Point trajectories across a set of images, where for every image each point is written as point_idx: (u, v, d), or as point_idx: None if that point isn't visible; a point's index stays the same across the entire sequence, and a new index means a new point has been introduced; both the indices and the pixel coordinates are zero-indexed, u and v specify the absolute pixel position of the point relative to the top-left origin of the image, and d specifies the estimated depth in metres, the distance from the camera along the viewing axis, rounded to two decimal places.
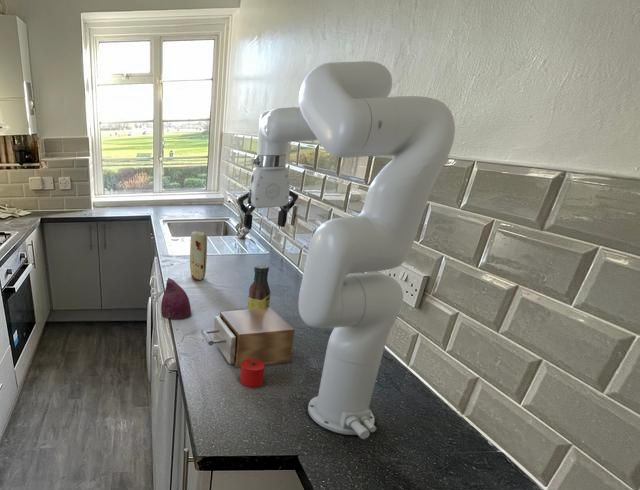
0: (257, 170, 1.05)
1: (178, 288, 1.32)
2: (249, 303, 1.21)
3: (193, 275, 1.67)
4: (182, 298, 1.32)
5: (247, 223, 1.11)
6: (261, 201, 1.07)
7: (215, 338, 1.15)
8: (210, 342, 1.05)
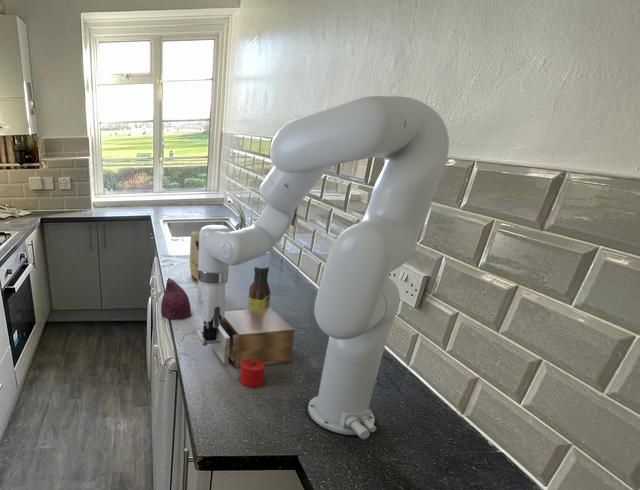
0: None
1: (178, 288, 1.32)
2: (249, 303, 1.21)
3: (193, 275, 1.67)
4: (182, 298, 1.32)
5: None
6: (197, 306, 1.07)
7: None
8: (204, 343, 1.05)
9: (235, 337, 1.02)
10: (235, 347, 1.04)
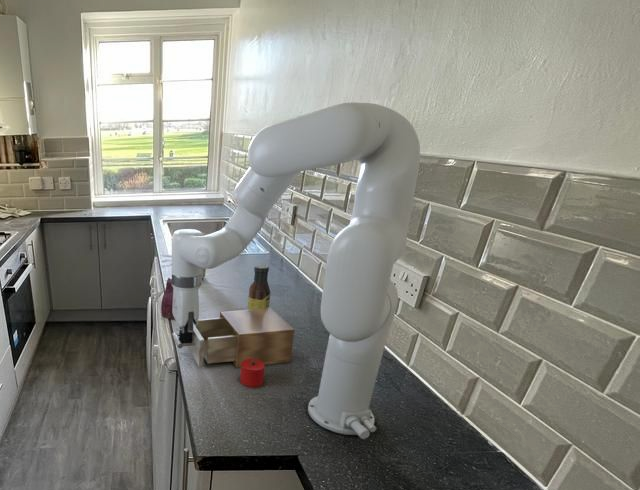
0: None
1: None
2: (249, 303, 1.21)
3: None
4: None
5: None
6: (173, 310, 1.07)
7: None
8: (179, 345, 1.04)
9: (210, 339, 1.02)
10: (210, 349, 1.03)
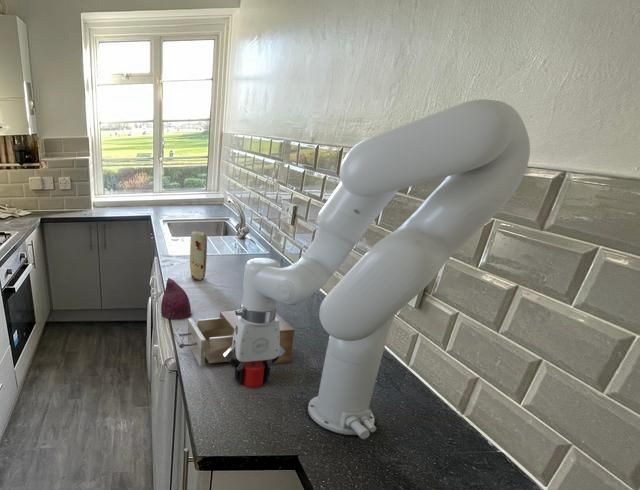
0: (242, 324, 0.90)
1: (178, 288, 1.32)
2: None
3: (193, 275, 1.67)
4: (182, 298, 1.32)
5: (238, 377, 0.97)
6: (247, 356, 0.92)
7: (188, 341, 1.14)
8: (181, 345, 1.04)
9: (211, 339, 1.02)
10: (211, 349, 1.03)
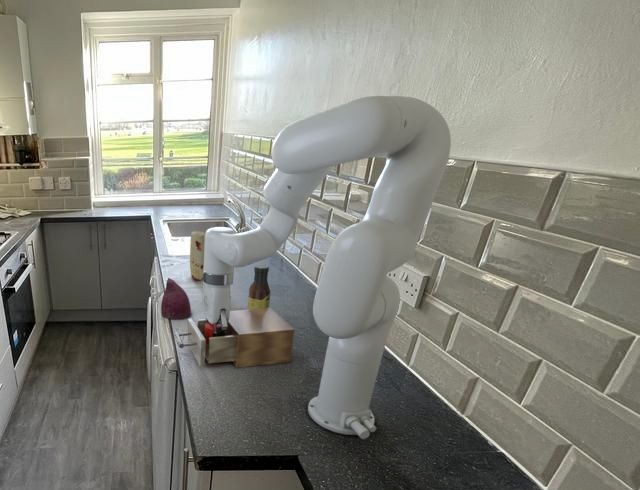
0: None
1: (178, 288, 1.32)
2: (249, 303, 1.21)
3: (193, 275, 1.67)
4: (182, 298, 1.32)
5: None
6: (202, 308, 1.08)
7: (188, 341, 1.14)
8: (181, 345, 1.04)
9: (211, 339, 1.02)
10: (211, 349, 1.03)
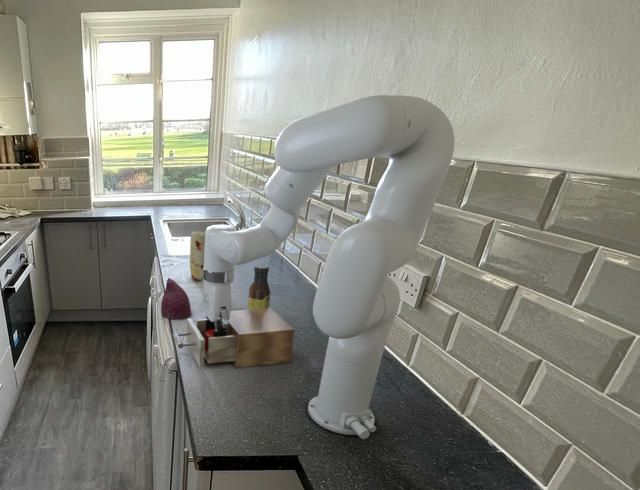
0: None
1: (178, 288, 1.32)
2: (249, 303, 1.21)
3: (193, 275, 1.67)
4: (182, 298, 1.32)
5: None
6: (203, 306, 1.07)
7: (188, 341, 1.14)
8: (180, 345, 1.04)
9: (210, 339, 1.02)
10: (210, 349, 1.03)
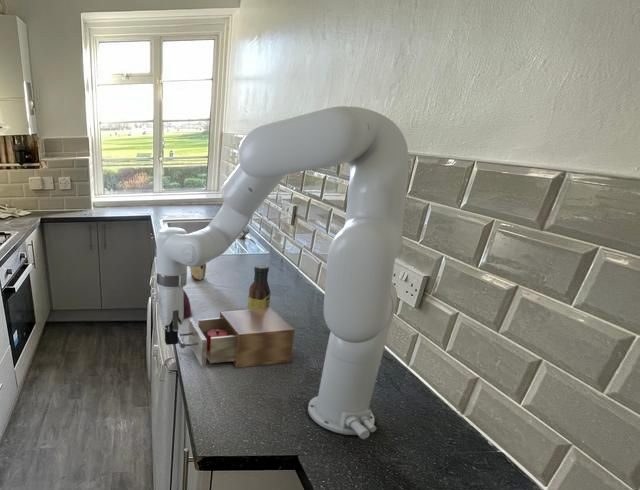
0: None
1: None
2: (249, 303, 1.21)
3: (193, 275, 1.67)
4: None
5: None
6: (158, 309, 1.06)
7: (189, 340, 1.14)
8: (182, 345, 1.04)
9: (212, 339, 1.02)
10: (212, 349, 1.03)
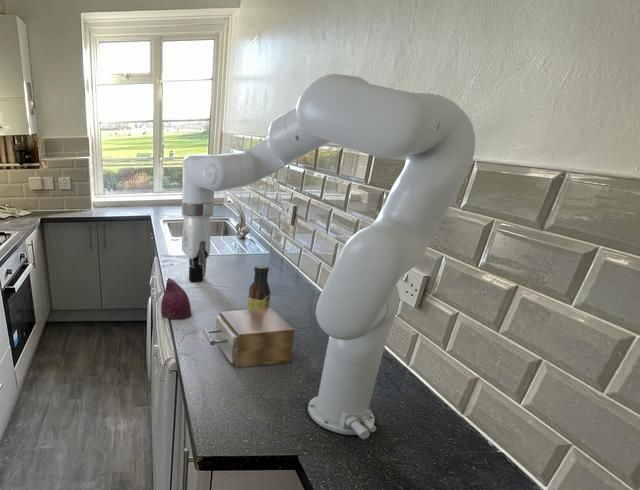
0: None
1: (178, 288, 1.32)
2: (249, 303, 1.21)
3: None
4: (182, 298, 1.32)
5: None
6: (183, 246, 1.03)
7: (217, 338, 1.15)
8: (212, 342, 1.05)
9: None
10: None
